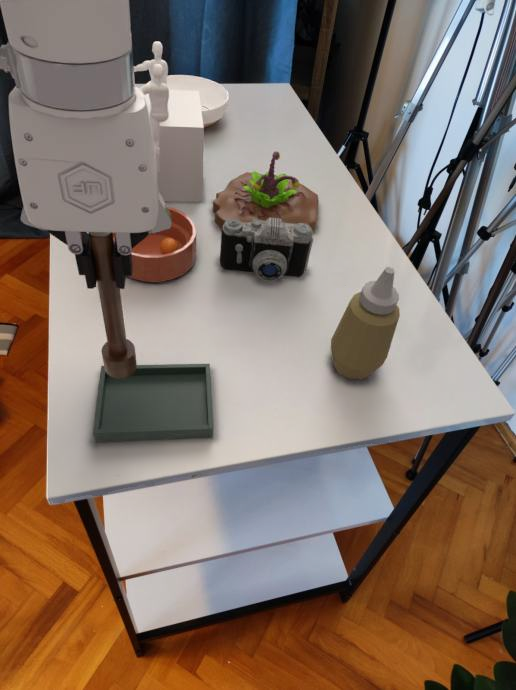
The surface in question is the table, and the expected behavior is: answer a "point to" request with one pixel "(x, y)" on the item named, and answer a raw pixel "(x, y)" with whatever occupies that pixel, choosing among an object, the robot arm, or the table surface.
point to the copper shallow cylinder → (165, 266)
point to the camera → (266, 247)
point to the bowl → (202, 95)
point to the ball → (168, 246)
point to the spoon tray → (155, 404)
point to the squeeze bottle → (366, 328)
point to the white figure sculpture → (174, 133)
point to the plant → (266, 199)
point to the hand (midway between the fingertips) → (107, 277)
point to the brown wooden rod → (111, 310)
